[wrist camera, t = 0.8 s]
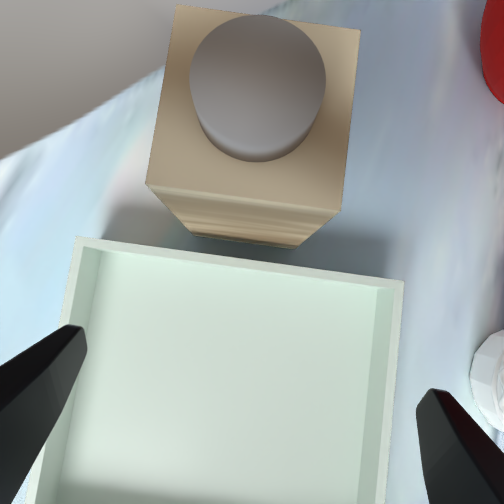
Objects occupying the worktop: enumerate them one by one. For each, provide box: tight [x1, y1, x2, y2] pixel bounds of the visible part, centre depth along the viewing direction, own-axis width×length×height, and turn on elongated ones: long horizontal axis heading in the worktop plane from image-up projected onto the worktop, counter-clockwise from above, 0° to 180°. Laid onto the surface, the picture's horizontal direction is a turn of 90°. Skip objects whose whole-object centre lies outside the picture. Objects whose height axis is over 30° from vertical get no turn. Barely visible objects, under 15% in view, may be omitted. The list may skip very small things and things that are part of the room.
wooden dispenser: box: [145, 4, 361, 249], centre depth 17 cm, size 6×6×12 cm
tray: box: [24, 236, 405, 504], centre depth 20 cm, size 16×18×3 cm
